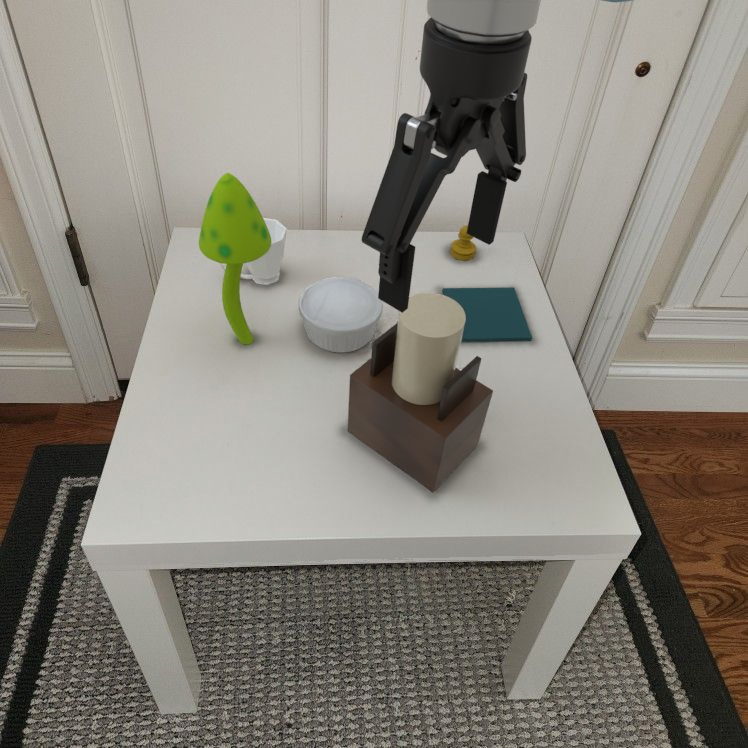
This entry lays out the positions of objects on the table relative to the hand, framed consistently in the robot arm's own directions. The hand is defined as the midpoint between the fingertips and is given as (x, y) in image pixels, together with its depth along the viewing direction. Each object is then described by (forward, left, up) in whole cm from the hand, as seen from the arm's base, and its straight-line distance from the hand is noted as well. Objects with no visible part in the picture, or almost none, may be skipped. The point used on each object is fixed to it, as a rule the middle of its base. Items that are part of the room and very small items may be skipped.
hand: (438, 268), depth 61 cm
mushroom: (+27, +2, -26) cm, 37 cm away
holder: (0, 0, -25) cm, 25 cm away
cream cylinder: (0, 0, -15) cm, 15 cm away
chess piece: (+17, -35, -26) cm, 46 cm away
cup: (+36, -8, -26) cm, 45 cm away
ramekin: (+19, -8, -26) cm, 33 cm away
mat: (+6, -25, -25) cm, 36 cm away
